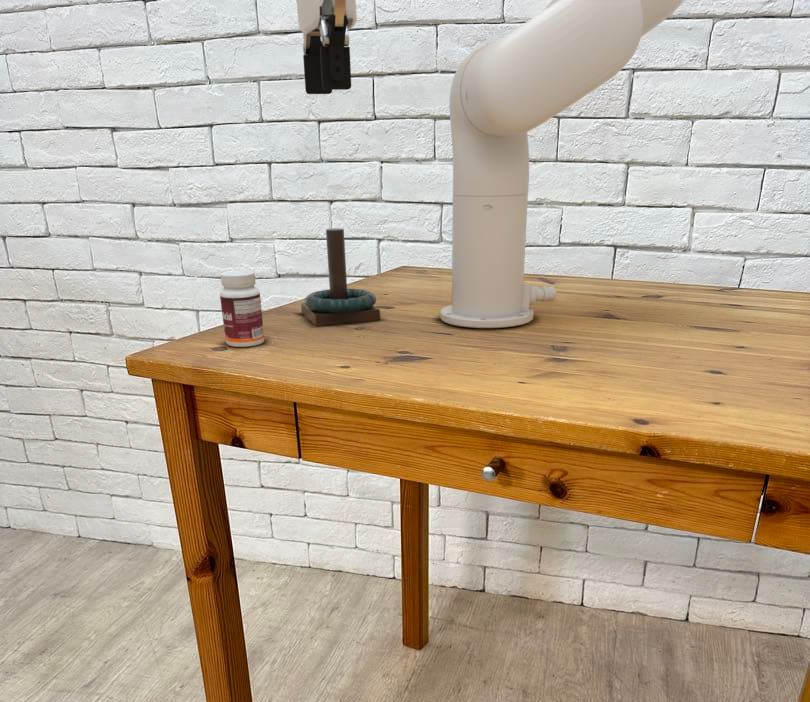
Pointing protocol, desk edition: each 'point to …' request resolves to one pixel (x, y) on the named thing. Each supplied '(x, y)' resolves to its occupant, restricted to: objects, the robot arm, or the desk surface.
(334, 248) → the post
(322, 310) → the ring
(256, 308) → the pill bottle
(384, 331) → the desk surface
